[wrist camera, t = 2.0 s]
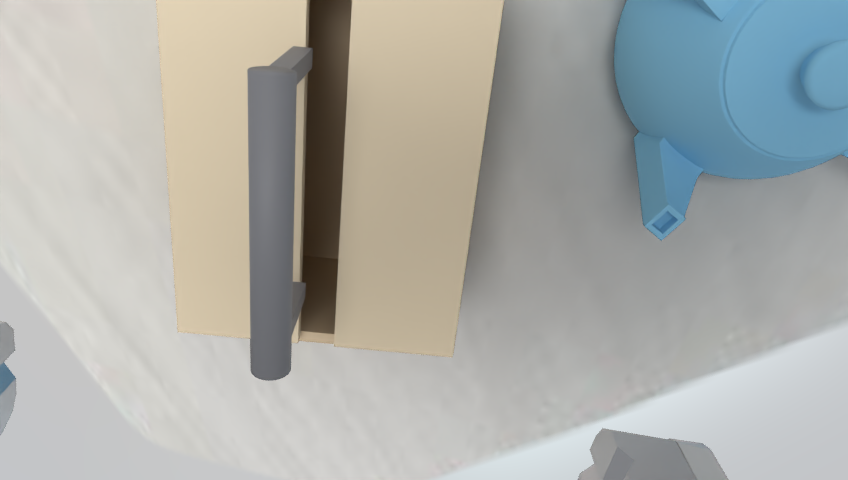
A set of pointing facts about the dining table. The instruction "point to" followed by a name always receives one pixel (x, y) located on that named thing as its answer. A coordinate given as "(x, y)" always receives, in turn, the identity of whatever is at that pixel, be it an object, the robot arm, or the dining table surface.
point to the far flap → (237, 168)
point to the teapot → (729, 92)
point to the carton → (393, 168)
